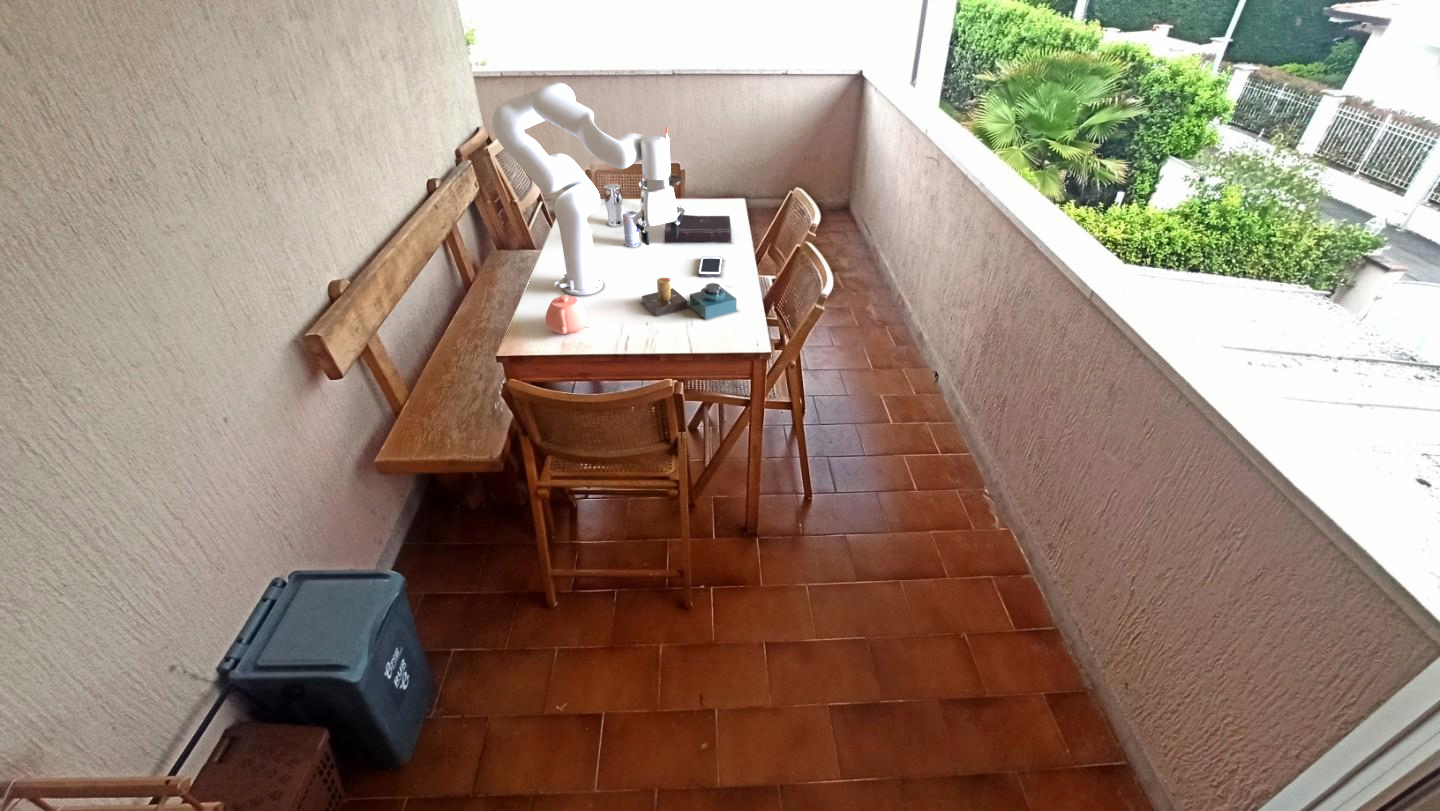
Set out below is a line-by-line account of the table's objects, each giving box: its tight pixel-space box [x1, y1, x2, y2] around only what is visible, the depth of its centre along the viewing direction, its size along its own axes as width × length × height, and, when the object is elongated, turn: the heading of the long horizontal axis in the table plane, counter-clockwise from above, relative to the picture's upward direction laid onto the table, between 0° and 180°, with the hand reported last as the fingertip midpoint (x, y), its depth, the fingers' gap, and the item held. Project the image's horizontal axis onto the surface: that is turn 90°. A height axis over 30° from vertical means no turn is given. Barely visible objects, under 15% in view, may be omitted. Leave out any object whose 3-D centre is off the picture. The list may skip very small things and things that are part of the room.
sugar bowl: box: [545, 294, 589, 335], centre depth 187 cm, size 12×14×10 cm
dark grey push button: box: [705, 282, 721, 295], centre depth 196 cm, size 4×4×2 cm
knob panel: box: [641, 288, 689, 317], centre depth 201 cm, size 11×10×3 cm
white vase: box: [603, 183, 624, 228], centre depth 254 cm, size 7×7×15 cm
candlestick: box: [663, 124, 683, 214], centre depth 257 cm, size 11×11×35 cm
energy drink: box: [622, 210, 641, 248], centre depth 238 cm, size 5×5×12 cm
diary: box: [663, 214, 732, 244], centre depth 248 cm, size 19×25×5 cm
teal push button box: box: [689, 286, 737, 320], centre depth 199 cm, size 11×10×6 cm
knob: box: [656, 277, 672, 301], centre depth 199 cm, size 4×4×6 cm
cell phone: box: [698, 256, 724, 277], centre depth 224 cm, size 8×15×1 cm, turn 177°
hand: (660, 240), depth 194 cm, fingers open, 9 cm apart
